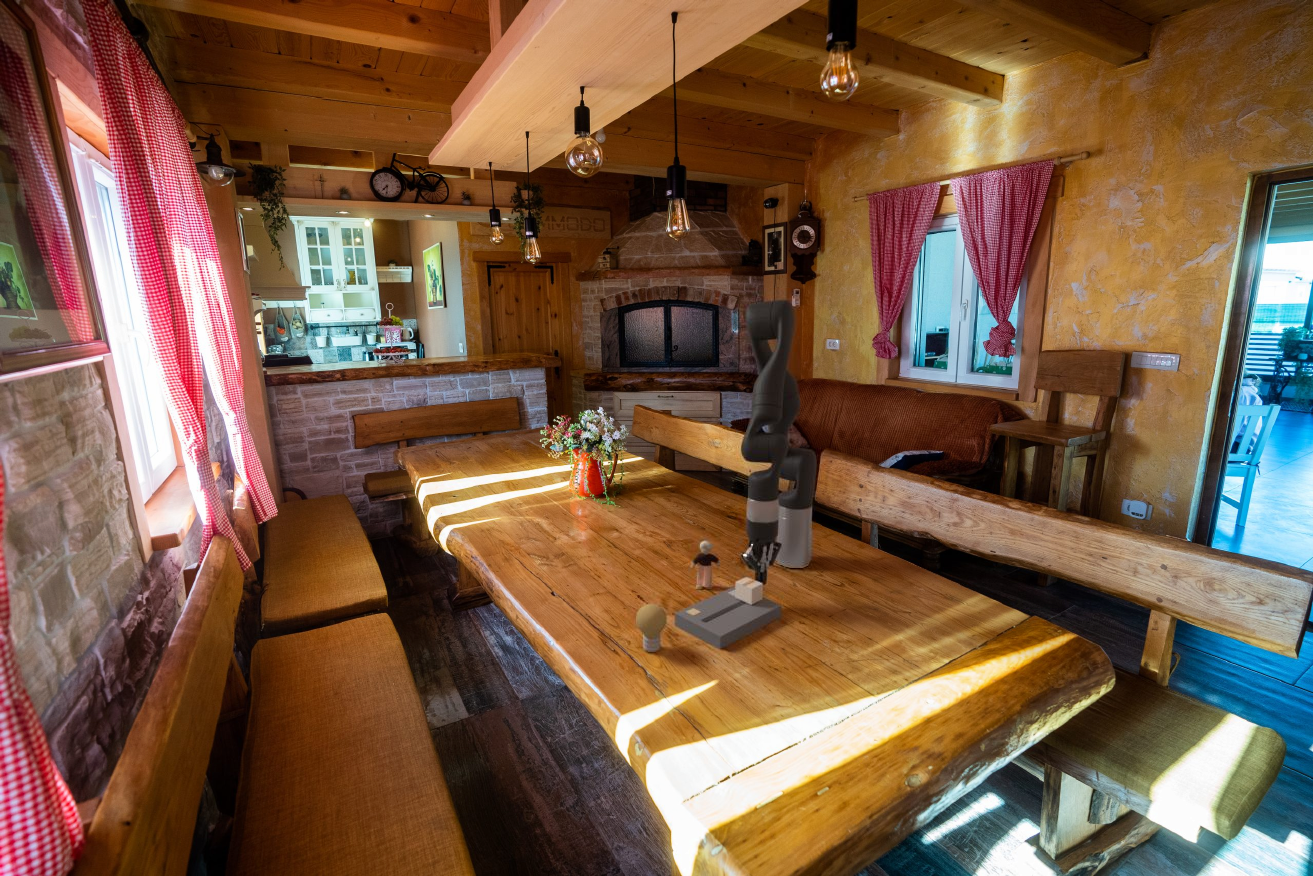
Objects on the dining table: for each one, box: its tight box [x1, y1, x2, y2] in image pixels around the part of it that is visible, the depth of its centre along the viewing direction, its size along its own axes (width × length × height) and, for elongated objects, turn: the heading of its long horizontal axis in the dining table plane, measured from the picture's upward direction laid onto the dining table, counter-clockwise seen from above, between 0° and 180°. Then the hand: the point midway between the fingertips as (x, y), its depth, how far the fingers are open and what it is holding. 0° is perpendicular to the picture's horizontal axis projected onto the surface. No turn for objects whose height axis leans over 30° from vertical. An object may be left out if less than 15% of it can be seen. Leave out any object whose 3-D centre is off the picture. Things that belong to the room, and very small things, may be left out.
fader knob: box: [734, 576, 764, 605], centre depth 149 cm, size 4×5×4 cm
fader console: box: [674, 585, 783, 650], centre depth 145 cm, size 21×14×3 cm, turn 132°
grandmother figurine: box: [690, 540, 722, 590], centre depth 161 cm, size 8×4×13 cm, turn 105°
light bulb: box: [635, 603, 668, 653], centre depth 133 cm, size 6×6×10 cm
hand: (760, 584), depth 151 cm, fingers closed
